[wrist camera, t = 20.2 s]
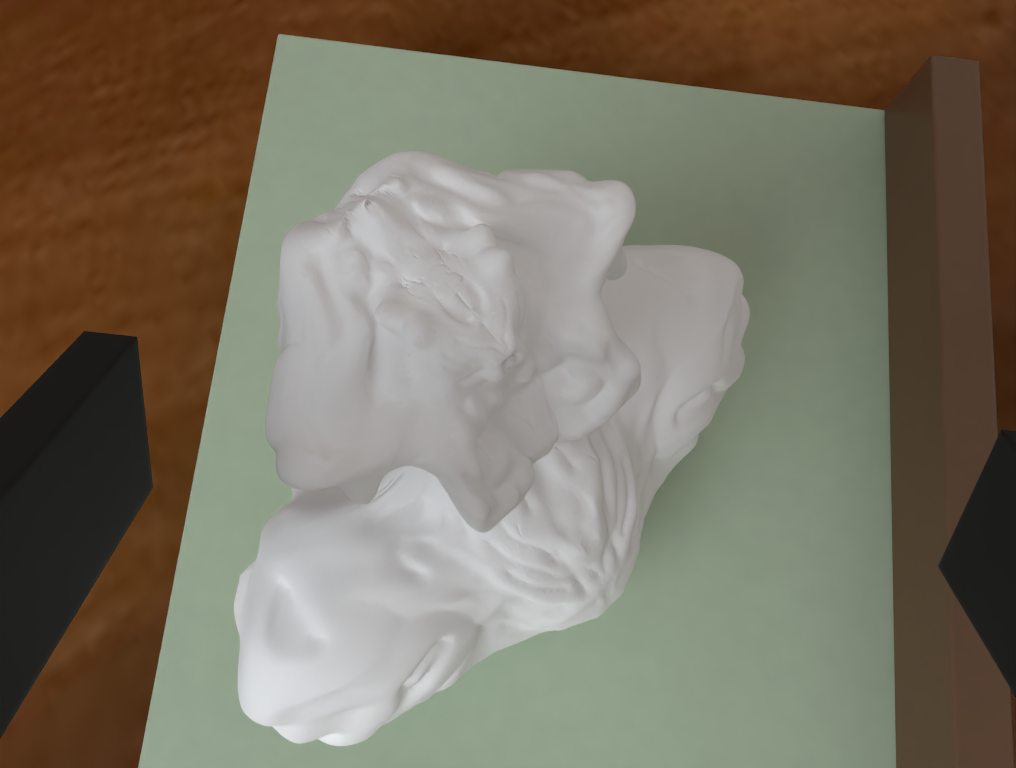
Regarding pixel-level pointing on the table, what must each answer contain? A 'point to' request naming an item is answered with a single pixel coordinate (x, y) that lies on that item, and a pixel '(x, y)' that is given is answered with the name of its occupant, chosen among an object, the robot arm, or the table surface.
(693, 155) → the shoe shelf
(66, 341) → the table surface
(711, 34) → the table surface
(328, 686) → the bust
